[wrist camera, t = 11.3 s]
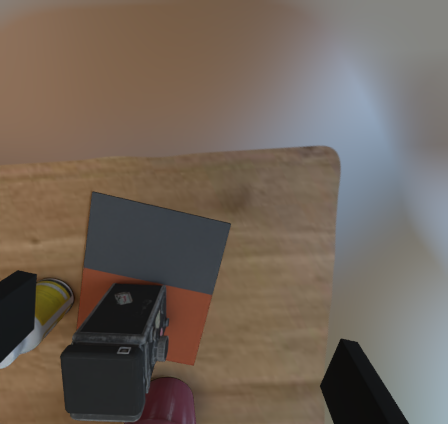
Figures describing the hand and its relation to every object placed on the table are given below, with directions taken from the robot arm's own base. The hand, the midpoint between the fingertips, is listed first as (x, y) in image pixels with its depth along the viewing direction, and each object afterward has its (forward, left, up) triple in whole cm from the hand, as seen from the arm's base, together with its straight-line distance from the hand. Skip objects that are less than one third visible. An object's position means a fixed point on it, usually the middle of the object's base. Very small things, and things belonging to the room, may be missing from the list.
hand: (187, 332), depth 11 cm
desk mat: (+7, +16, -27) cm, 32 cm away
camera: (+7, +20, -27) cm, 34 cm away
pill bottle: (+21, +21, -27) cm, 40 cm away
